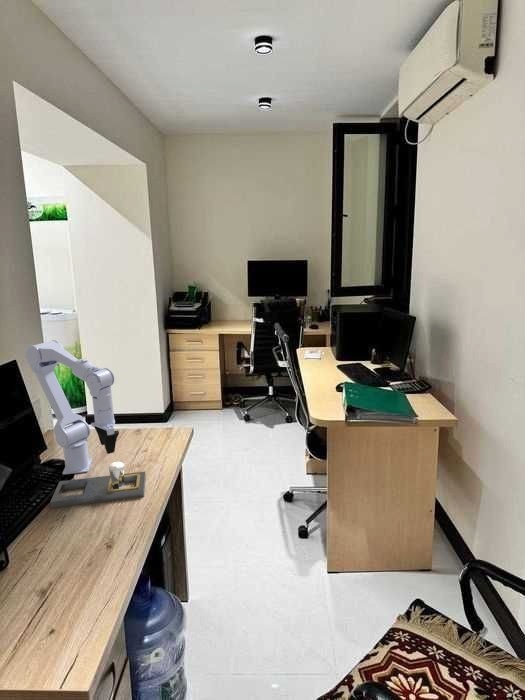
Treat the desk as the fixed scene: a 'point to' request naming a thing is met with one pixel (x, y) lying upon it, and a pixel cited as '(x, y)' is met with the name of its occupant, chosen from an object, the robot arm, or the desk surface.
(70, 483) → the grey board with holes
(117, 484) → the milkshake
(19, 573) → the desk surface
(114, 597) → the desk surface
